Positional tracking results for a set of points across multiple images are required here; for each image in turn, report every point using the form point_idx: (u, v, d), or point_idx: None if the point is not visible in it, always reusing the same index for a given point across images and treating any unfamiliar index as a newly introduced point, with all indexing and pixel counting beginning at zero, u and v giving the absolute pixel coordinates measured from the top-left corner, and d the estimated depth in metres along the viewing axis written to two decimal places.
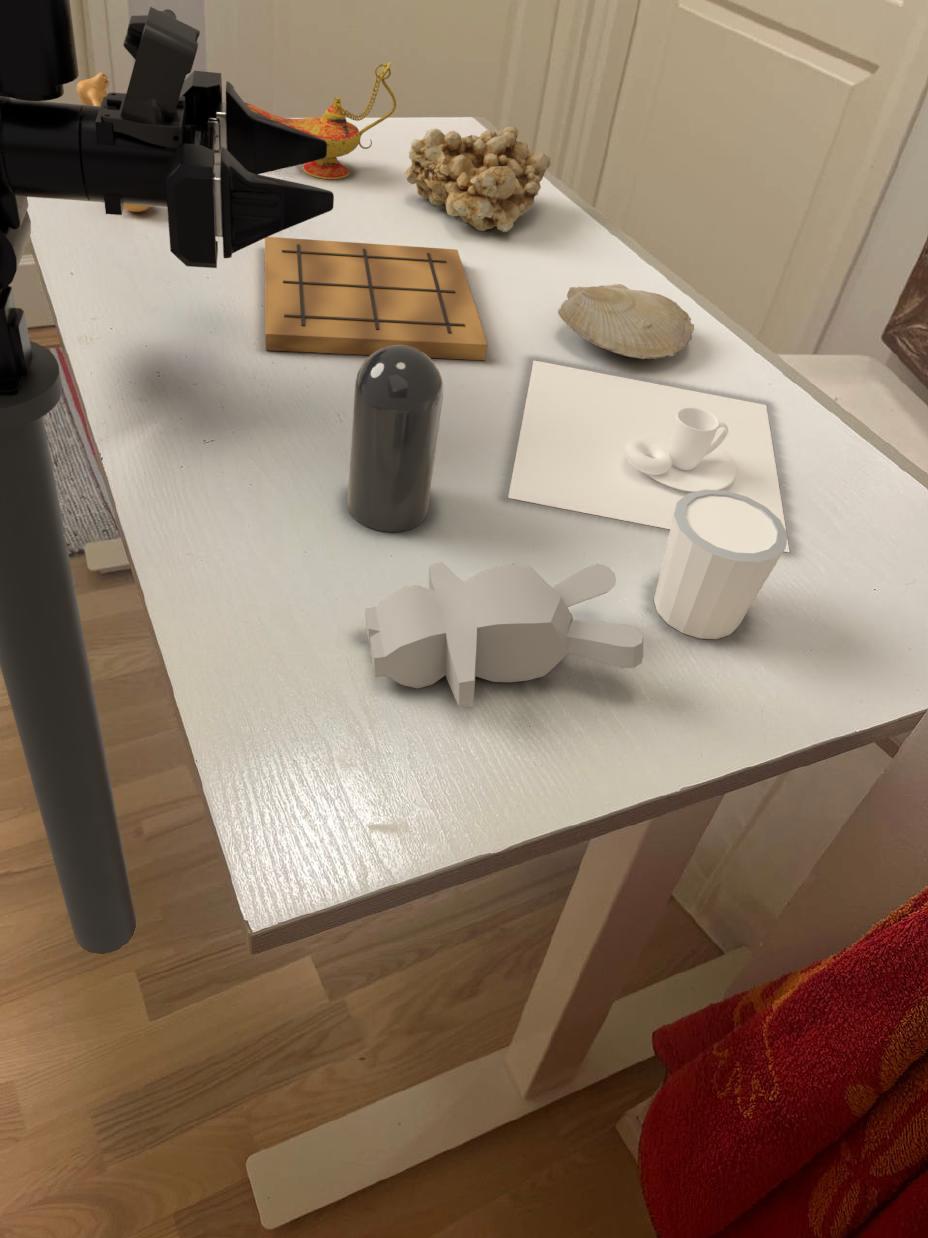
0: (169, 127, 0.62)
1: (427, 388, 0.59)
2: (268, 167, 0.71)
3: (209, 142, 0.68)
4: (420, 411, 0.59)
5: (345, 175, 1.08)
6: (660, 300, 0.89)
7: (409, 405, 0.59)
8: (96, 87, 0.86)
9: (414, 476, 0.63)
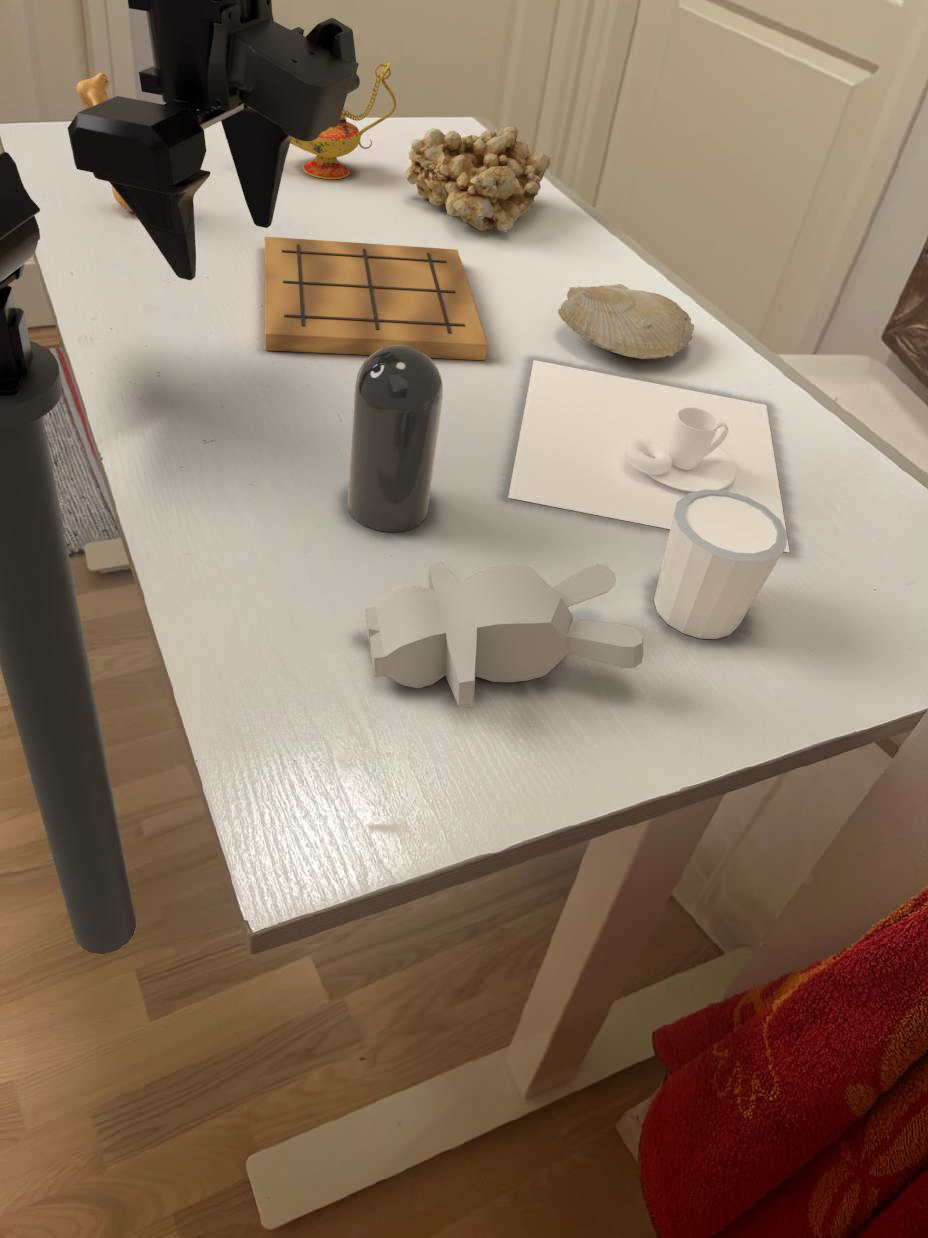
0: (226, 98, 0.54)
1: (427, 388, 0.59)
2: (235, 157, 0.65)
3: None
4: (420, 411, 0.59)
5: (345, 175, 1.08)
6: (660, 300, 0.89)
7: (409, 405, 0.59)
8: (96, 87, 0.86)
9: (414, 476, 0.63)
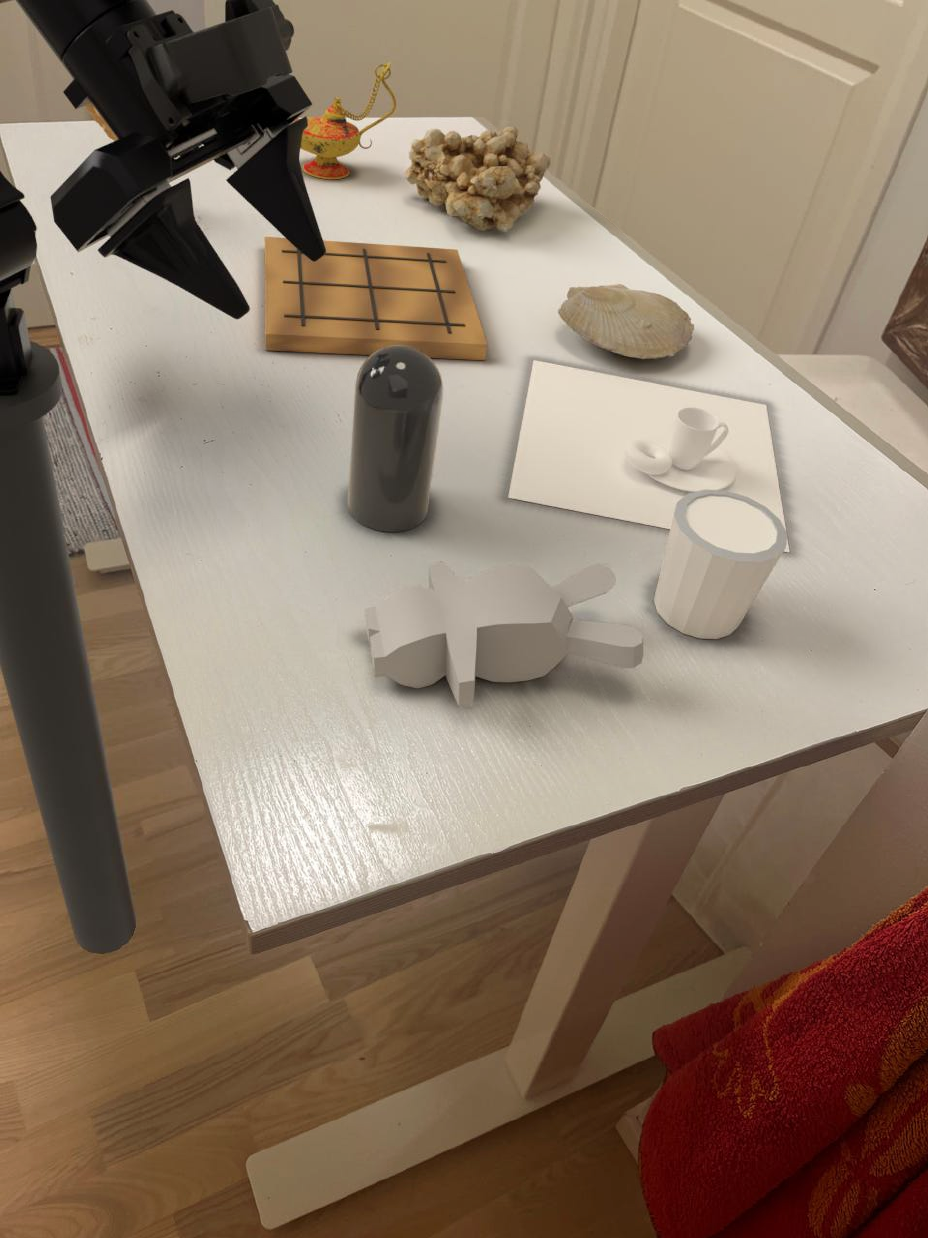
0: (173, 108, 0.52)
1: (427, 388, 0.59)
2: (264, 212, 0.62)
3: (226, 144, 0.58)
4: (420, 411, 0.59)
5: (345, 175, 1.08)
6: (660, 300, 0.89)
7: (409, 405, 0.59)
8: None
9: (414, 476, 0.63)
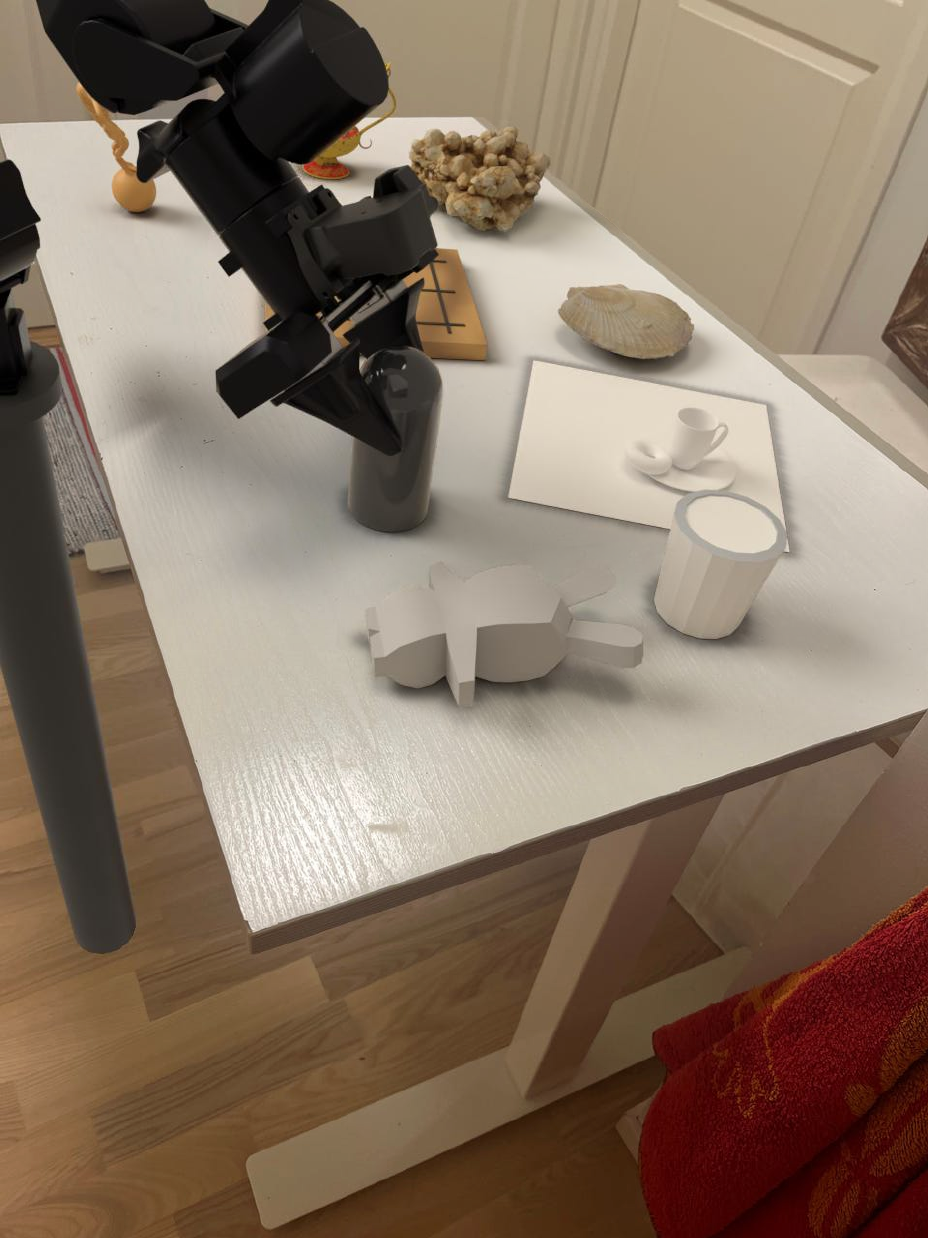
0: (328, 284, 0.55)
1: (427, 388, 0.59)
2: None
3: (363, 299, 0.61)
4: (420, 411, 0.59)
5: (345, 175, 1.08)
6: (660, 300, 0.89)
7: (409, 405, 0.59)
8: None
9: (414, 476, 0.63)
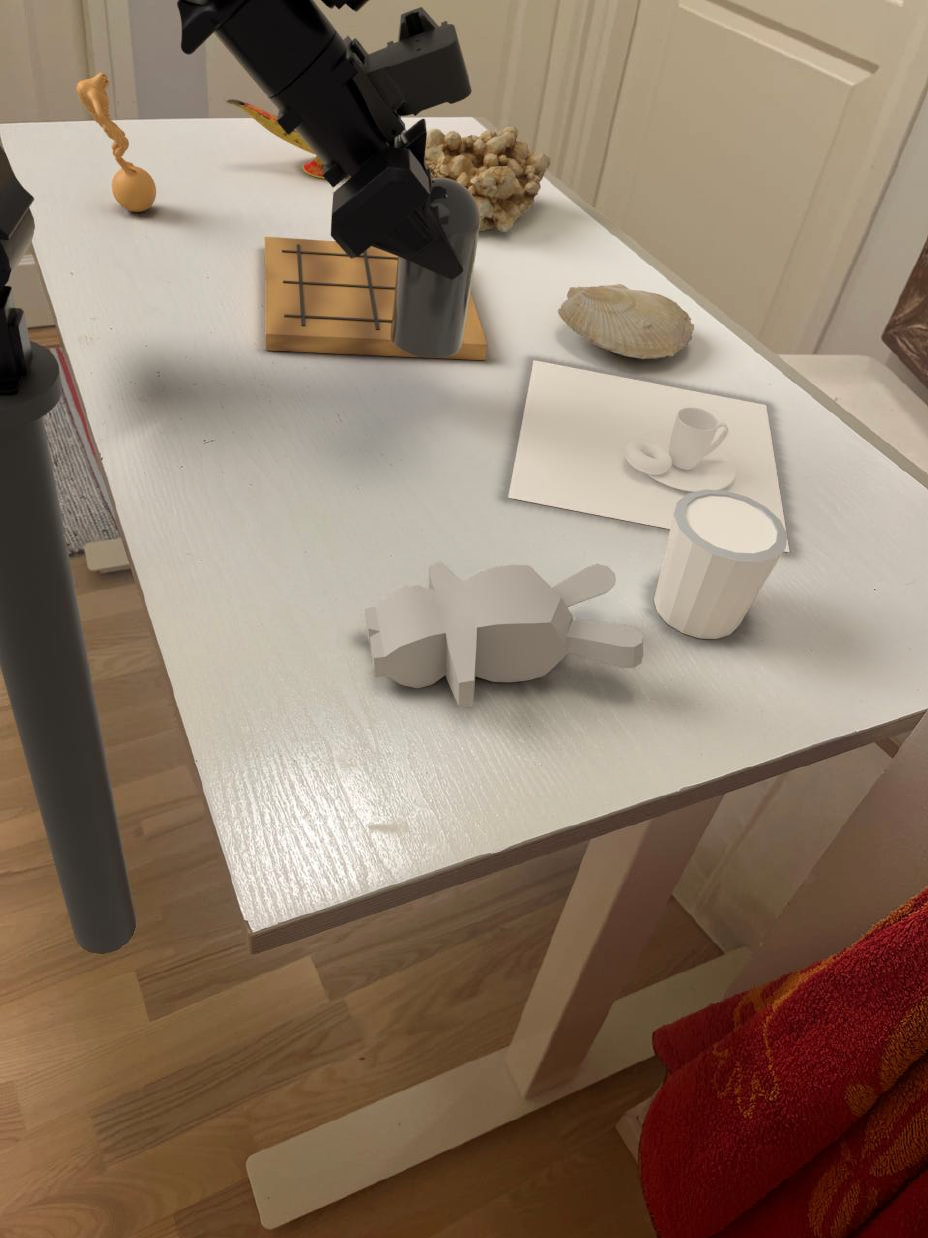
0: (397, 121, 0.61)
1: (475, 210, 0.67)
2: None
3: None
4: (473, 232, 0.67)
5: None
6: (660, 300, 0.89)
7: (466, 227, 0.66)
8: (96, 87, 0.86)
9: (464, 298, 0.71)
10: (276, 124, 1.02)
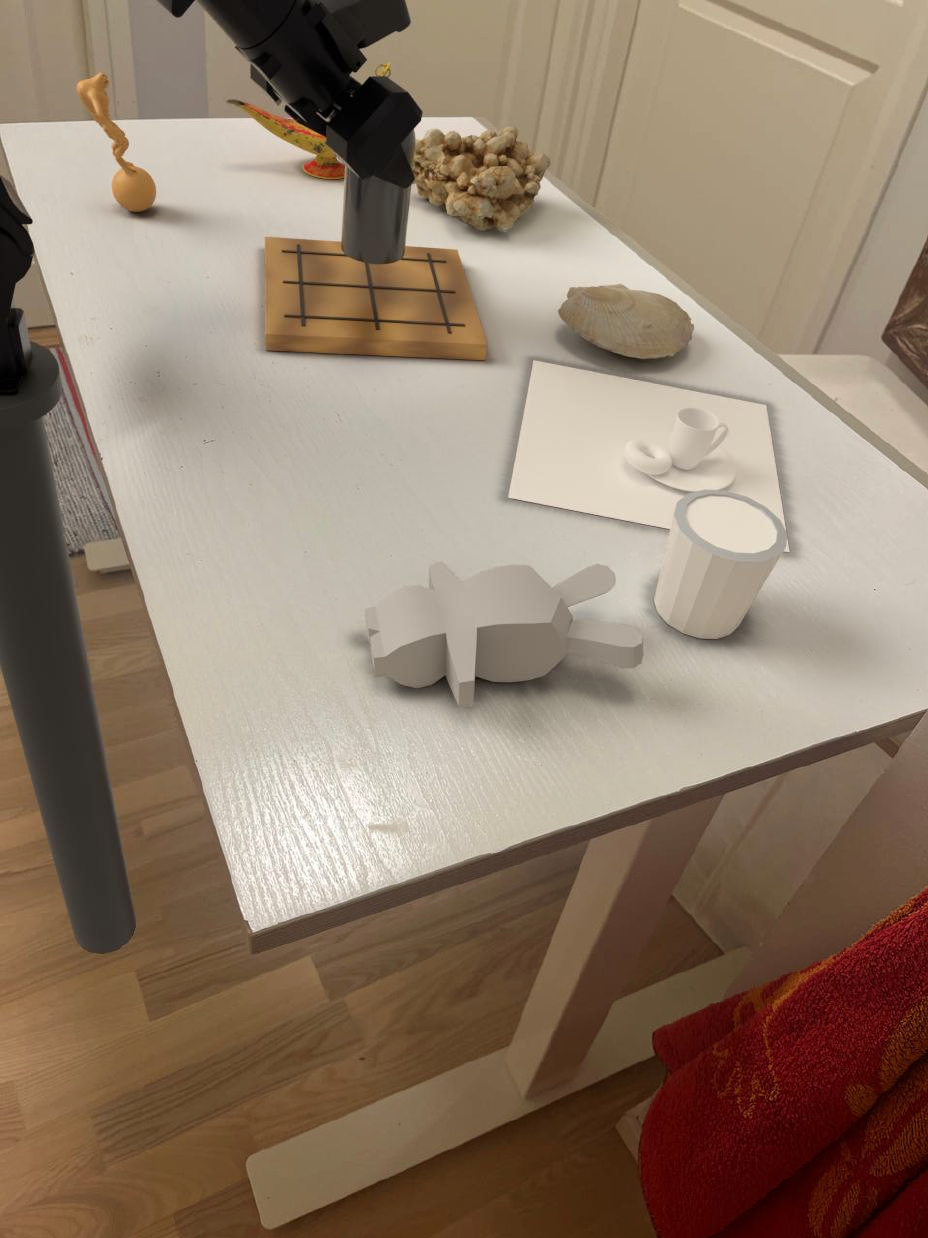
0: (361, 53, 0.70)
1: None
2: None
3: None
4: (414, 143, 0.78)
5: None
6: (660, 300, 0.89)
7: (411, 140, 0.77)
8: (96, 87, 0.86)
9: None
10: (276, 124, 1.02)
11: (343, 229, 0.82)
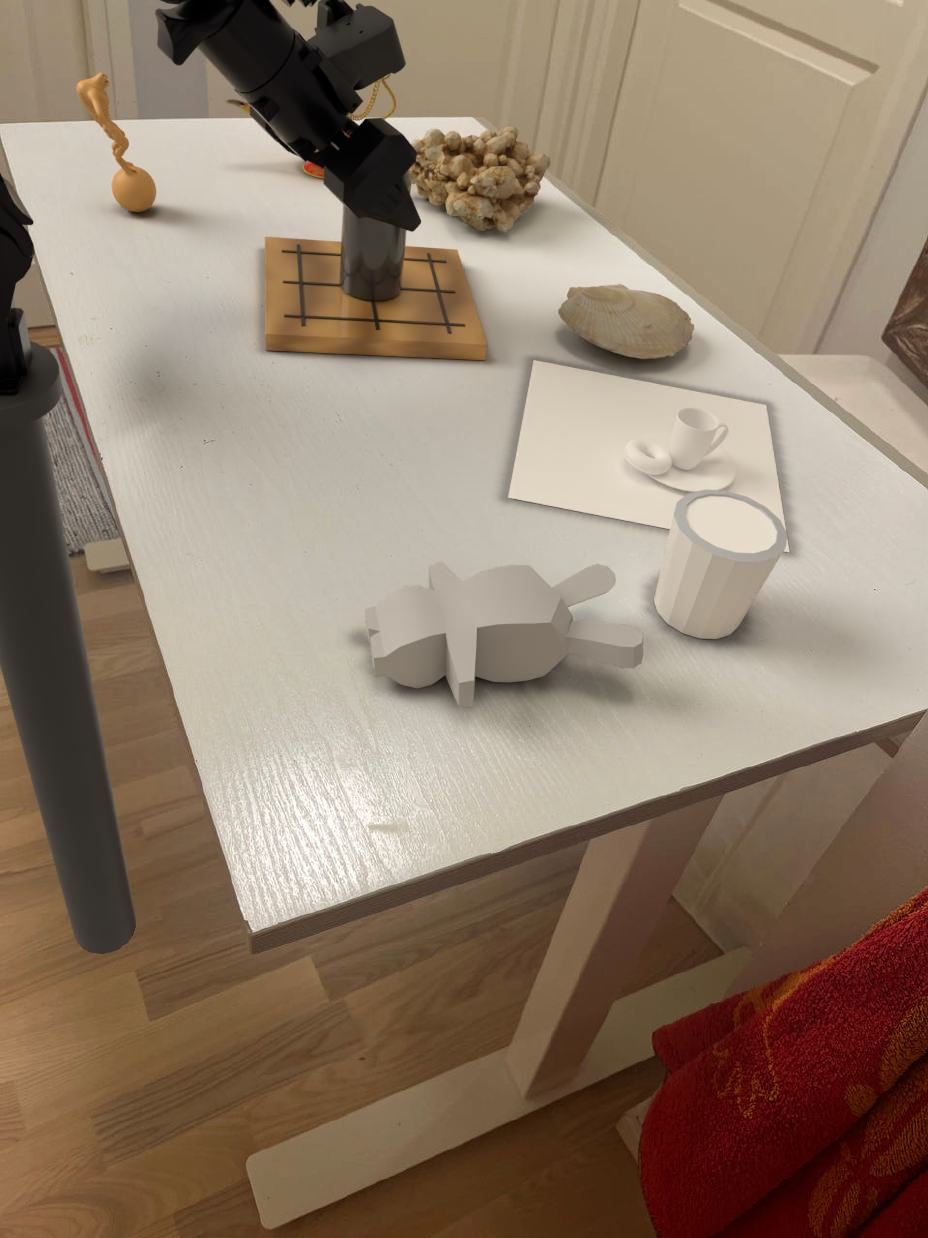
0: (357, 95, 0.72)
1: None
2: (321, 163, 0.82)
3: None
4: (410, 185, 0.80)
5: None
6: (660, 300, 0.89)
7: (407, 182, 0.79)
8: (96, 87, 0.86)
9: (405, 242, 0.84)
10: None
11: (341, 267, 0.84)
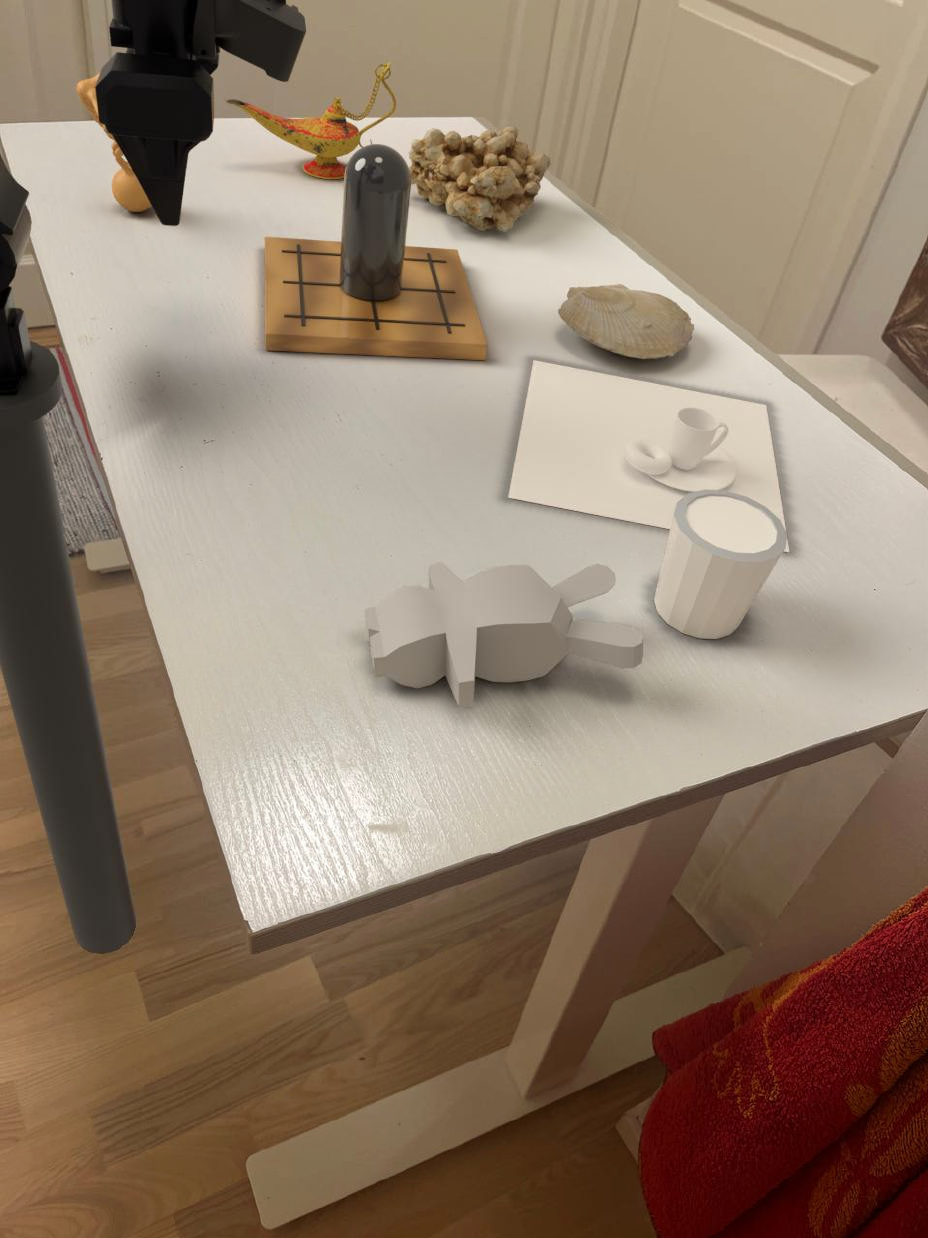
0: (213, 46, 0.59)
1: None
2: None
3: None
4: (410, 185, 0.80)
5: None
6: (660, 300, 0.89)
7: (407, 182, 0.79)
8: None
9: (405, 242, 0.84)
10: (276, 124, 1.02)
11: (341, 267, 0.84)
